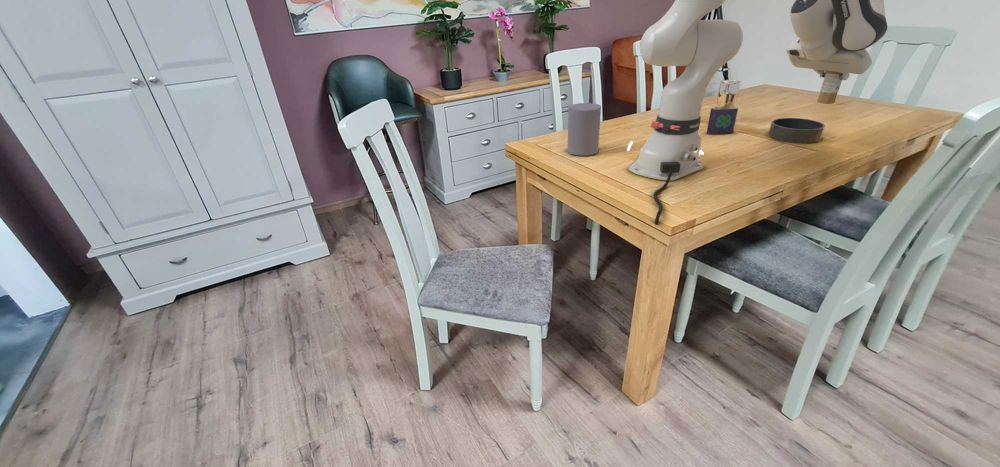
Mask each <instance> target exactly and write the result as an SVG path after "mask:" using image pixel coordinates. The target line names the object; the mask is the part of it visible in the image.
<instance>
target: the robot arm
mask: <svg viewBox="0 0 1000 467" xmlns="http://www.w3.org/2000/svg"><path fill="white" fill-rule="evenodd" d="M725 1H726V0H674V1H673V4H672V5H671V6H670V7H669V9H668V10H667V11H666V13H665V14H664V15H663V16H662V17H661V18H660V19H659V20H658V21H656V22H654V24H652V25H650V26H649V27H648V28H647V29H646V30H645V31H644V33H643V34H642V37H641V40H640V43H639V53H640V56H641V59H642V60H643V61H644V63H645V64H647V65H650V66H655V67H664V68H665V67H666V68H667V67H682V66H683V67H685V69H684V71H683V72H682V73H681V74H680V75H679V76H678V77H676V78H675V79H673V80H671V81H669V82H668V83H667V84H665V86H664V87H663V89H662V91H661V95H660V101H659V102H660V103H659V109H658V114H657V116H656V119H655V120H652V121H651V123H650V128H651V129H653V130H652V132H651V134H650V135H649V137H648V138H647V140H646V141H645V142H644V144H643V145H642V147H641V149H640V150H639V155H638V158H637V159H636V160H635V161H634V162H633V163H632V164H631V165H630V166H629V168H628V171H629V172H631V173H633V174H636V175H638V176H641V177H644V178H650V179H653V180H660V181H665V183H664V184H663V185H662V186H661V187H660V188H658V189H657V190H655V191H654V193H653V199H654V201H655V202H656V204H657V205H658V211H657V213H656V216H655V219H654V225H655V226H658V225H659V223H660V222H659V221H660V218H661V215H662V212H663V209H664V208H663V204H662V202H661V201H660V199H659V198H658V194H660V193H661V192H662V191H664V190H665V189H666V188H667V186H668V185H669V183H670V181H672V182H673V181H677V180H678V179H681V178H683V177H685V176H688V175H691V174H694V173H695V172H698V171H701V170H703V169H704V164H703V163H702V162H700V158H701V155H702V156H703V155H704V152H703V151H702V142H703V141H702V137H700V134H699V130H700V126H701V121H702V120H701V118H702V117H701V116H700V115H701V110H702V105H703V103H704V102H703V101H704V97H705V94H706V91H707V88H708V86H709V84H710V83H711V80H712V79H713V77H714V76H715V75H716V74H717V72H718V71H719V70H720V69H721V68H722V67H723V66H724V65H725V64H727V63H728V62H730V61H731V60H732V59H733V58H735V57H736V55H737V54H738V53H739V52H740V50H741V48H742V45H743V40H744V35H743V34H744V33H743V29H742V28H741V27H742V26H740V24H739V23H738V22H737V21H731V20H729V19H728V20H727V19H720V18H717V19H703V18H704V17H705V16H706V15H708V14H709V13H711V12H713V11H714V10H716V9H718V8H720V7H721V6H722V5H723V4H724V3H725ZM790 8H791V9H790V13H789V16H790V22H791V25H792V28H793V31H794V33H795V34H794V35H796V37H795V38H794V40H793V41H792V42H791V43H790V44H789V46H787V48H786V50H785V53H786V54H787V55H788V59H789V61H790V63H791V65H792V66H793V67H795V68H797V69H798V68H800V69H808V70H813V71H814V72H816V73H817V74H818V75H819V77H820V78H823V79H824V78H825V74H826V71H835V72H841V73H842V74H840V75H839V78H840V80H842V81H847V80H848V79H849V78H850V74H853V75H863V74H864V73H865V72H867V70H868V69H870V67H871V66H872V65H873V61H872V57H871V56H870V54H869V52H868V50H867V49H868V48H870V47H872V46H873V45H875V44H876V43H877V42H878V41H880V40H881V39H882V38H883V37H884V36H885V35H886V33H887V32H888V22H887V18H886V10H885V0H795V1H794V2H793V4H792V6H791V7H790ZM632 145H633V141H632V140H631V141H630V143H629V144H628V146H627V150H626V151H627V152H629V151H630V149H631V147H632Z"/></svg>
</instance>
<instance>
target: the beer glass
mask: <svg viewBox="0 0 1000 467" xmlns="http://www.w3.org/2000/svg"><path fill="white" fill-rule="evenodd" d="M741 83H742V82H741V80H738V79H723V80H720V85H719V87H718V92H717V103H716V104H717V105H716V107H719V108H721V107H722V106H724V105H725V103H728V104H729V105H728V106H729V107H736V103H737V100H738V97H739V94H740V89H741Z"/></svg>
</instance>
